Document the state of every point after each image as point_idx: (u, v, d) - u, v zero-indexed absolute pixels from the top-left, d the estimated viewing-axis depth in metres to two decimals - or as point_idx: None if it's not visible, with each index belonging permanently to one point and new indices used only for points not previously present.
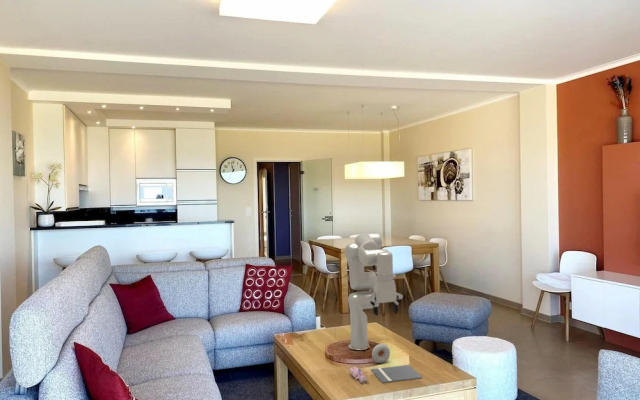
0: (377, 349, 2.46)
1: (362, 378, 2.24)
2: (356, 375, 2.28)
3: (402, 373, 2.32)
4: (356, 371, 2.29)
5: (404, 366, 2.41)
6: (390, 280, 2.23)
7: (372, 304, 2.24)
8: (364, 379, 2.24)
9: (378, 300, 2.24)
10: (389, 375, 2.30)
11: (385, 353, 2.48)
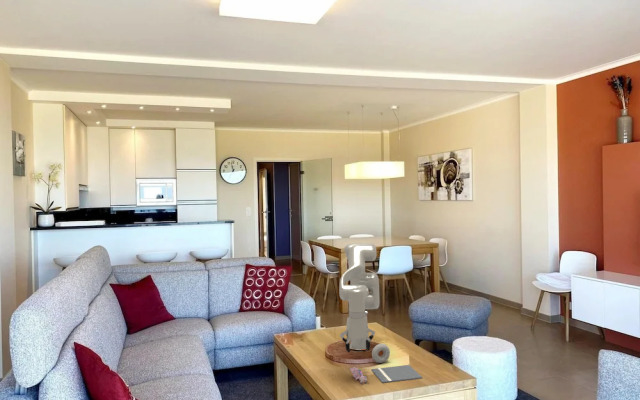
0: (377, 349, 2.46)
1: (362, 378, 2.24)
2: (356, 375, 2.28)
3: (402, 373, 2.32)
4: (356, 371, 2.29)
5: (404, 366, 2.41)
6: (362, 317, 2.25)
7: (344, 341, 2.26)
8: (364, 379, 2.24)
9: (350, 337, 2.25)
10: (389, 375, 2.30)
11: (385, 353, 2.48)
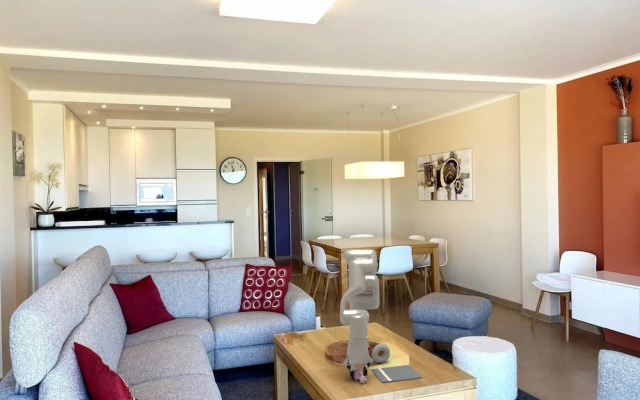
0: (377, 349, 2.46)
1: (362, 378, 2.23)
2: (356, 375, 2.27)
3: (402, 373, 2.32)
4: (356, 371, 2.28)
5: (404, 366, 2.41)
6: (362, 343, 2.25)
7: (348, 368, 2.27)
8: (364, 379, 2.23)
9: (351, 362, 2.26)
10: (389, 375, 2.30)
11: (385, 353, 2.48)
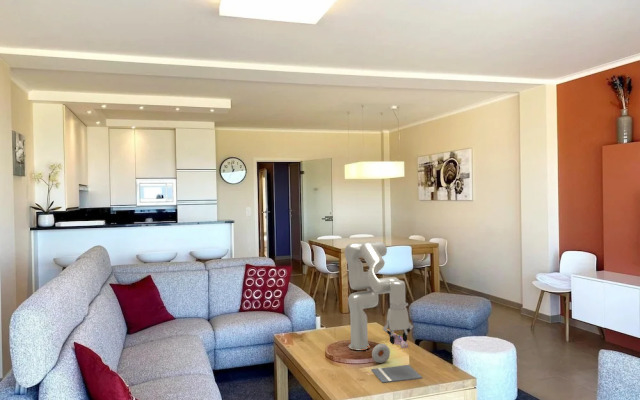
0: (377, 349, 2.46)
1: (403, 343, 2.27)
2: (396, 341, 2.31)
3: (402, 373, 2.32)
4: (396, 337, 2.32)
5: (404, 366, 2.41)
6: (403, 309, 2.29)
7: (388, 333, 2.31)
8: (405, 344, 2.27)
9: (391, 328, 2.30)
10: (389, 375, 2.30)
11: (385, 353, 2.48)
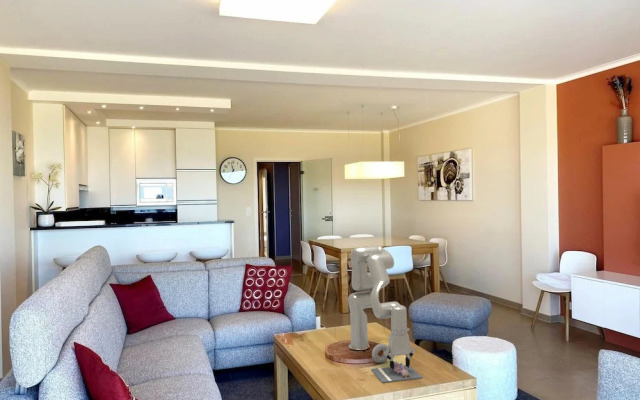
0: (377, 349, 2.46)
1: (404, 372, 2.28)
2: (397, 369, 2.32)
3: None
4: (397, 365, 2.33)
5: (404, 366, 2.41)
6: (404, 334, 2.30)
7: (388, 358, 2.31)
8: (406, 373, 2.28)
9: (392, 353, 2.30)
10: (389, 375, 2.30)
11: None
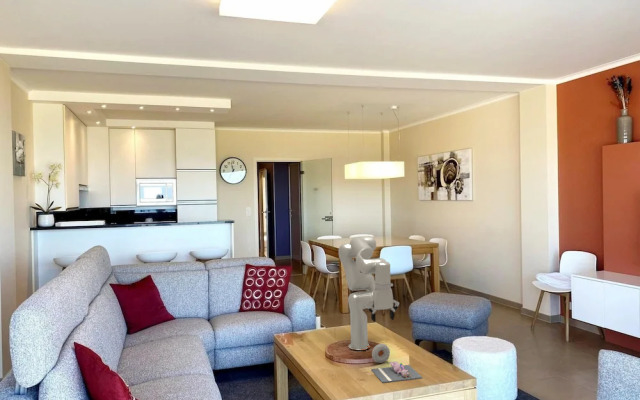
0: (377, 349, 2.46)
1: (404, 372, 2.28)
2: (397, 369, 2.32)
3: None
4: (397, 365, 2.33)
5: (404, 366, 2.41)
6: (388, 289, 2.36)
7: (370, 311, 2.37)
8: (406, 373, 2.28)
9: (376, 307, 2.37)
10: (389, 375, 2.30)
11: (385, 353, 2.48)
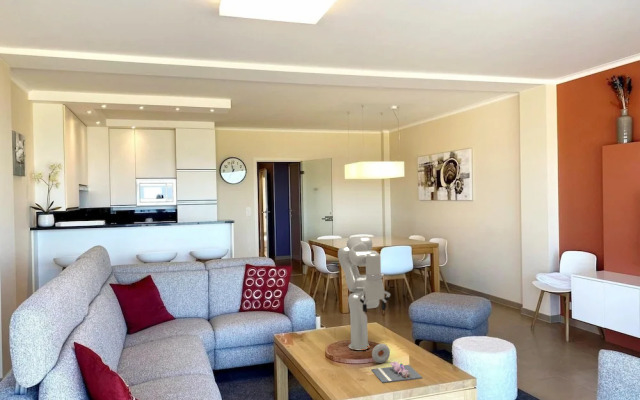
0: (377, 349, 2.46)
1: (404, 372, 2.28)
2: (398, 369, 2.32)
3: None
4: (397, 365, 2.32)
5: (404, 366, 2.41)
6: (378, 279, 2.40)
7: (361, 302, 2.41)
8: (406, 373, 2.28)
9: (367, 298, 2.40)
10: (389, 375, 2.30)
11: (385, 353, 2.48)
